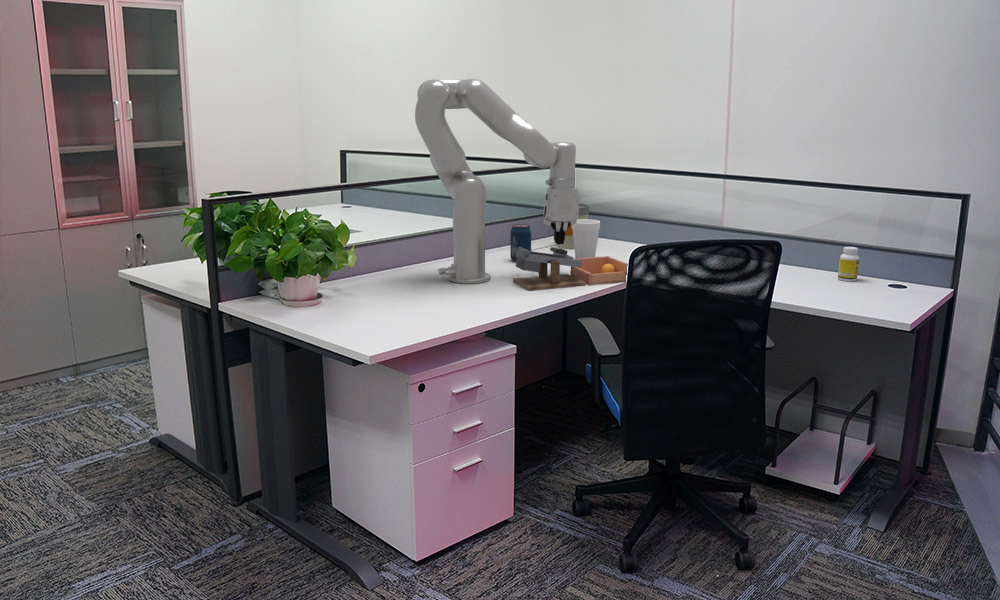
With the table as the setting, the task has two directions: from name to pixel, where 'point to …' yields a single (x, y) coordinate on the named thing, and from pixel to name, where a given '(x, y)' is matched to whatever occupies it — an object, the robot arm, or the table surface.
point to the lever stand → (549, 279)
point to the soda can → (519, 239)
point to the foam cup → (585, 237)
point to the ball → (608, 268)
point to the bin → (599, 270)
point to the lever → (543, 259)
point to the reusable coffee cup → (569, 233)
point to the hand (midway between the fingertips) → (559, 243)
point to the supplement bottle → (848, 264)
